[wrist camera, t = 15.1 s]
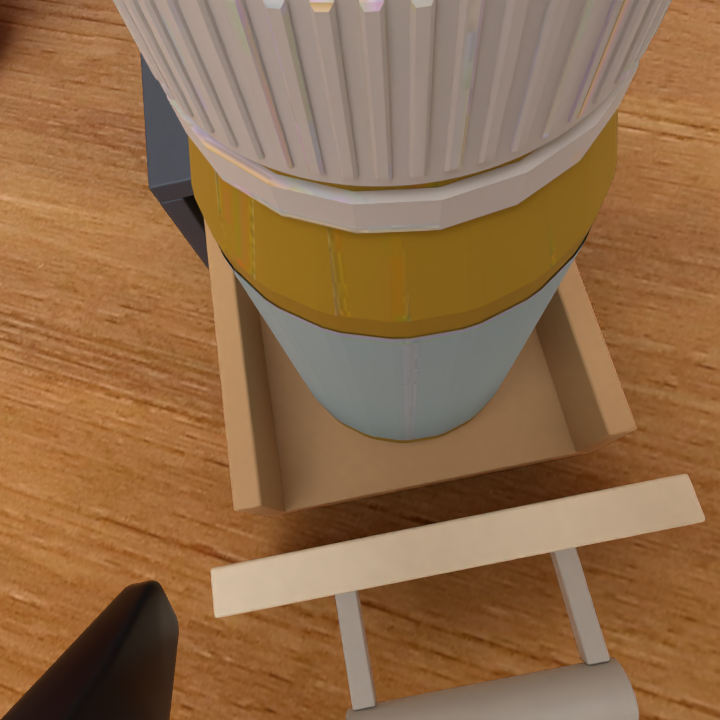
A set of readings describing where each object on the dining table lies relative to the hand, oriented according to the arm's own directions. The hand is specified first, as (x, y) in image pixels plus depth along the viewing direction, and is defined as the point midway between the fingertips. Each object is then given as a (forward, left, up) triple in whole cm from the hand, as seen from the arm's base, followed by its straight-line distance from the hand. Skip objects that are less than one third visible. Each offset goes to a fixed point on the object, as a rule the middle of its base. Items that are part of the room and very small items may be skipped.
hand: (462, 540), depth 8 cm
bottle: (+2, -6, -9) cm, 11 cm away
